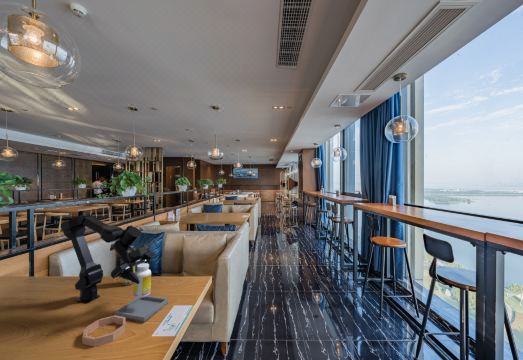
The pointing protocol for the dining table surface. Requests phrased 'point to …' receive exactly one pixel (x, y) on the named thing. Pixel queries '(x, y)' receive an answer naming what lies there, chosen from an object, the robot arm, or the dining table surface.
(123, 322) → the holder ring
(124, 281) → the sauce bottle
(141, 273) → the supplement bottle
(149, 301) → the tray
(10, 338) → the dining table surface
